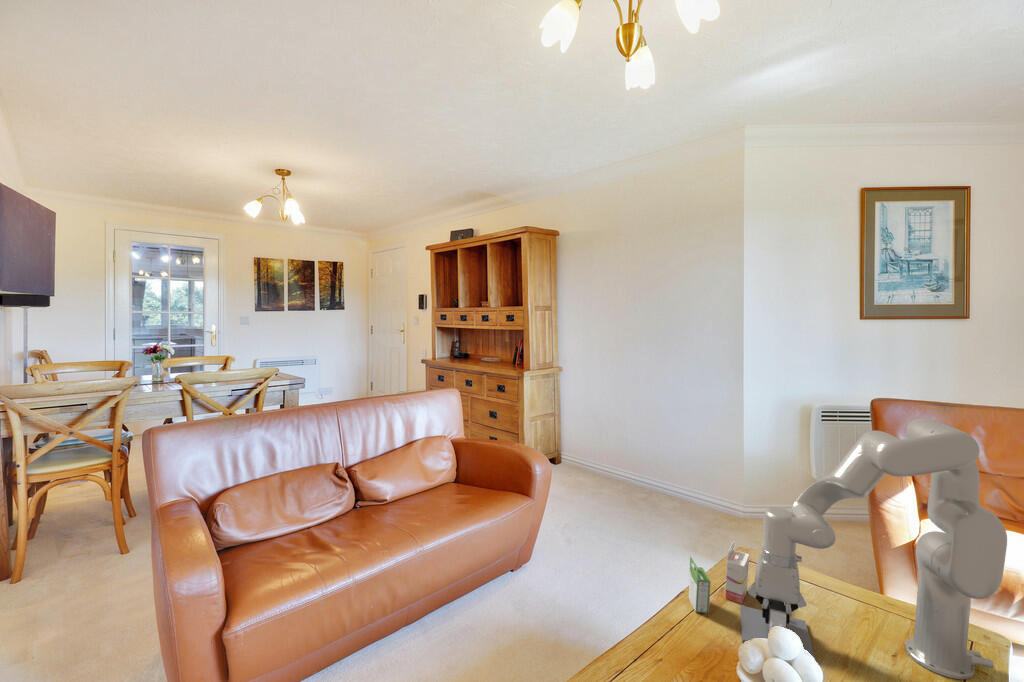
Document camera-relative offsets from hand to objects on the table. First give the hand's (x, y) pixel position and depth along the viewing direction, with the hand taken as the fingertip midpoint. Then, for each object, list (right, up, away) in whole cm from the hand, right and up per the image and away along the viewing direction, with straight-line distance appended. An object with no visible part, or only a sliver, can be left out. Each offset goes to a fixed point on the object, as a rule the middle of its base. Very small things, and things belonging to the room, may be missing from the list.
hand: (775, 622), depth 124 cm
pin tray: (0, -3, 0) cm, 3 cm away
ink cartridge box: (-2, -2, +17) cm, 17 cm away
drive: (0, -1, 0) cm, 1 cm away
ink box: (-16, -3, +12) cm, 20 cm away
